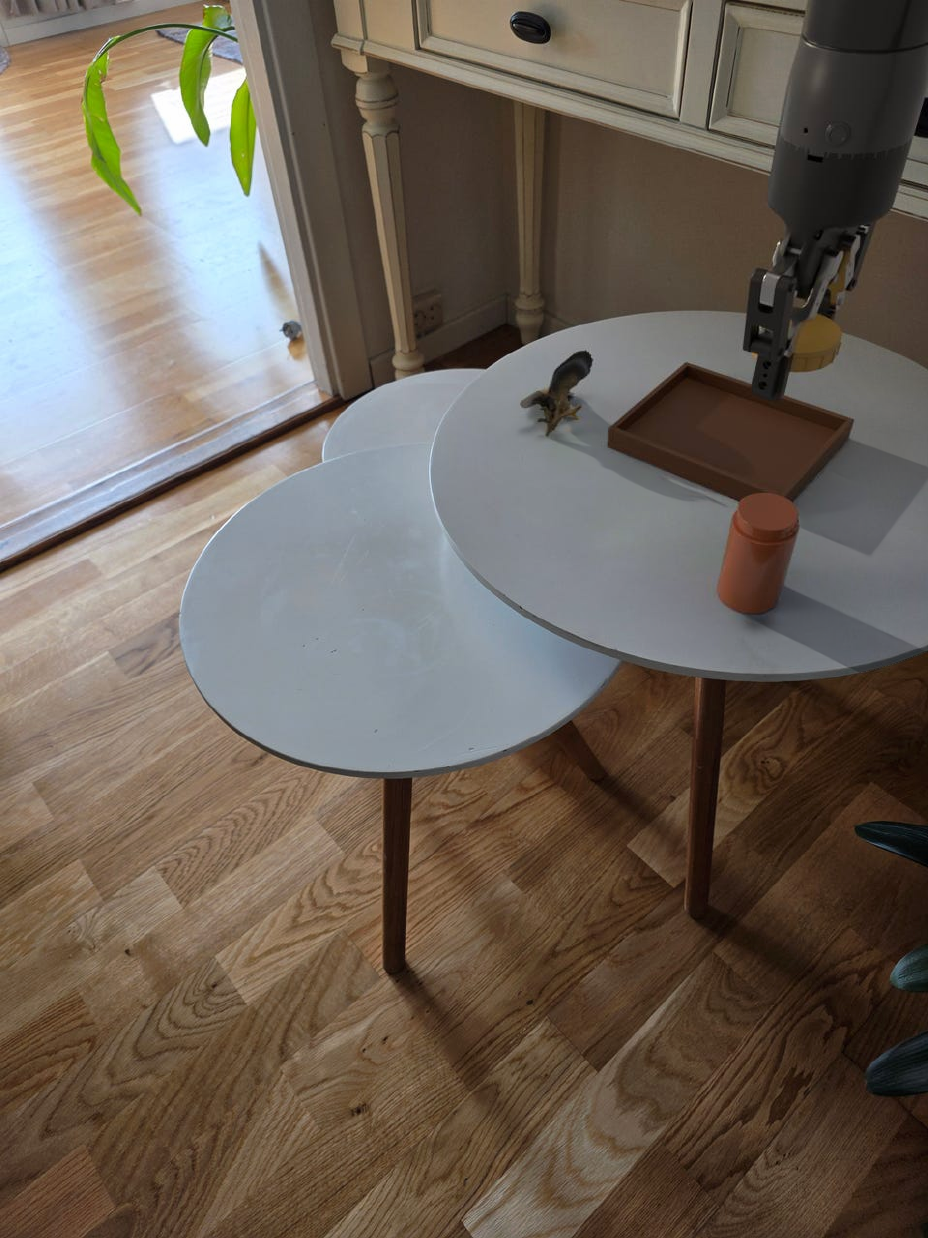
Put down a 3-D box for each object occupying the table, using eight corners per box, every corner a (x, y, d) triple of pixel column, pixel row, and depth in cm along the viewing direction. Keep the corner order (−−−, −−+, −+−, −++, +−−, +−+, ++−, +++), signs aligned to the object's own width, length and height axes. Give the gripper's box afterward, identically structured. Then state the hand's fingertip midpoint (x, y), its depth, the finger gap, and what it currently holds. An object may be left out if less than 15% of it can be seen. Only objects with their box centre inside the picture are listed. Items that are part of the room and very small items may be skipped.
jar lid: (731, 347, 63) (734, 328, 61) (788, 319, 65) (793, 300, 63) (796, 382, 59) (801, 363, 58) (855, 351, 61) (860, 332, 60)
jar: (790, 588, 75) (814, 506, 68) (761, 623, 73) (783, 542, 66) (735, 563, 78) (753, 481, 71) (705, 596, 75) (721, 515, 68)
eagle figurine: (601, 431, 90) (608, 371, 95) (564, 386, 86) (573, 325, 90) (541, 455, 95) (550, 397, 99) (502, 414, 91) (514, 354, 95)
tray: (848, 437, 89) (854, 418, 87) (778, 517, 81) (783, 498, 80) (683, 379, 98) (685, 361, 96) (606, 446, 90) (608, 427, 89)
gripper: (838, 77, 56) (785, 319, 69) (727, 152, 49) (690, 406, 62) (958, 96, 53) (878, 347, 65) (856, 179, 46) (789, 442, 58)
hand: (787, 374), depth 63 cm, fingers closed on jar lid, 6 cm apart
